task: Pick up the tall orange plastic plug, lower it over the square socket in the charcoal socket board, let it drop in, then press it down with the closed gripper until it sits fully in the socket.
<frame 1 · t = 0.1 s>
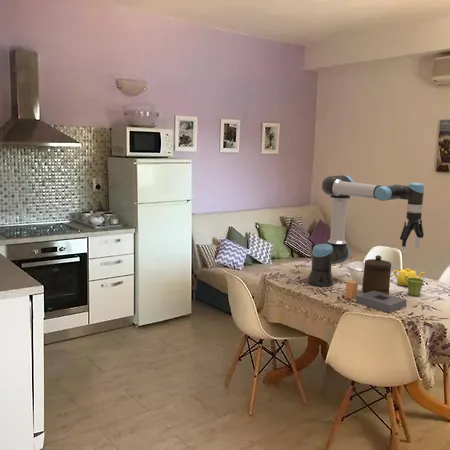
hand: (410, 250, 280), 28 cm above the table, tool pointing down, fingers open, 13 cm apart
orange plug: (351, 297, 287), on the table
socket board: (380, 304, 276), on the table
wooden container: (375, 293, 297), on the table
teapot: (407, 285, 314), on the table
plant pot: (414, 294, 296), on the table
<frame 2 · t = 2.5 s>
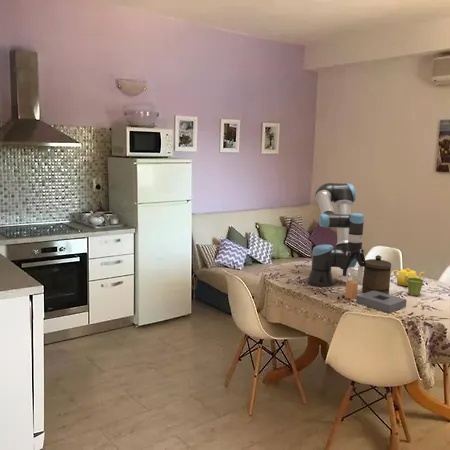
hand: (352, 279, 284), 10 cm above the table, tool pointing down, fingers open, 13 cm apart
nothing on the table moved.
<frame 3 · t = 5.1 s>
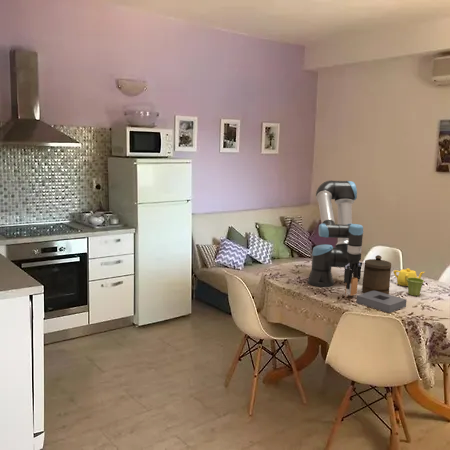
hand: (351, 293, 287), 2 cm above the table, tool pointing down, fingers closed on orange plug, 4 cm apart
orange plug: (350, 293, 287), point 2 cm above the table, touching gripper
everything else where it was.
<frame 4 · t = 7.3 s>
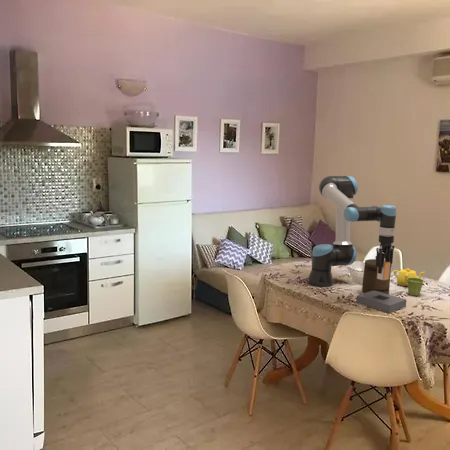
hand: (383, 278, 273), 15 cm above the table, tool pointing down, fingers closed on orange plug, 4 cm apart
orange plug: (382, 278, 273), point 14 cm above the table, touching gripper
everything else where it was.
when the fingers open (6 cm above the table, at t = 9.4 s): orange plug drops 5 cm, resting on socket board.
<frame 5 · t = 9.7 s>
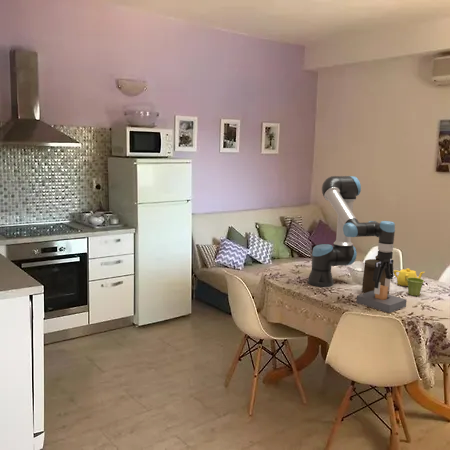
hand: (381, 292, 275), 7 cm above the table, tool pointing down, fingers open, 9 cm apart
orange plug: (380, 302, 275), point 1 cm above the table, touching socket board
everything else where it was.
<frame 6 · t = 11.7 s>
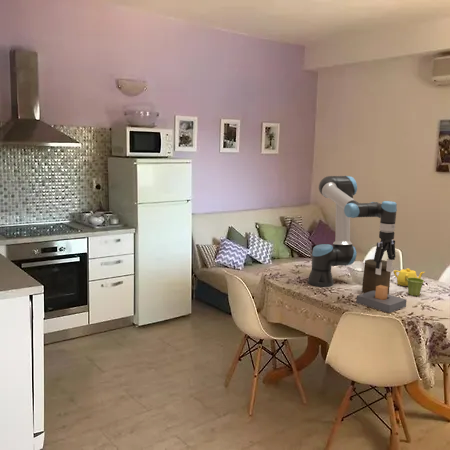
hand: (383, 272, 273), 18 cm above the table, tool pointing down, fingers open, 9 cm apart
nothing on the table moved.
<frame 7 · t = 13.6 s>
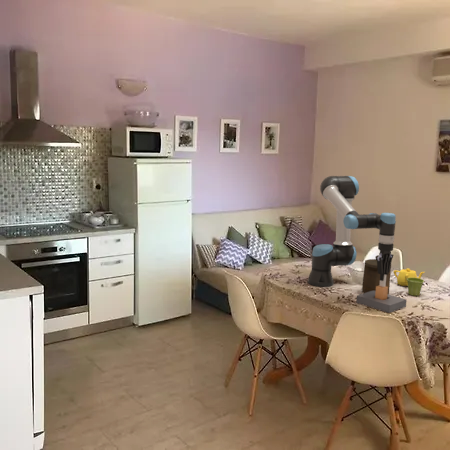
hand: (382, 286, 274), 10 cm above the table, tool pointing down, fingers closed
orange plug: (380, 302, 275), point 1 cm above the table, touching gripper, socket board
everything else where it was.
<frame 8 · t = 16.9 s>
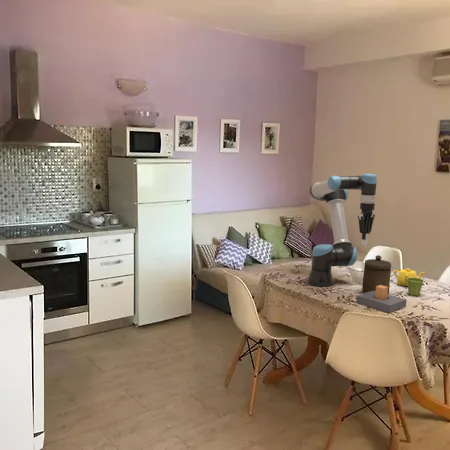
hand: (364, 245, 284), 29 cm above the table, tool pointing down, fingers closed
orange plug: (380, 302, 275), point 1 cm above the table, touching socket board
everything else where it was.
at the end: orange plug 0.3 cm off-centre on the socket board, point 1.0 cm above the socket board's base; orange plug tilted 0°; the gripper is holding nothing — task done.
